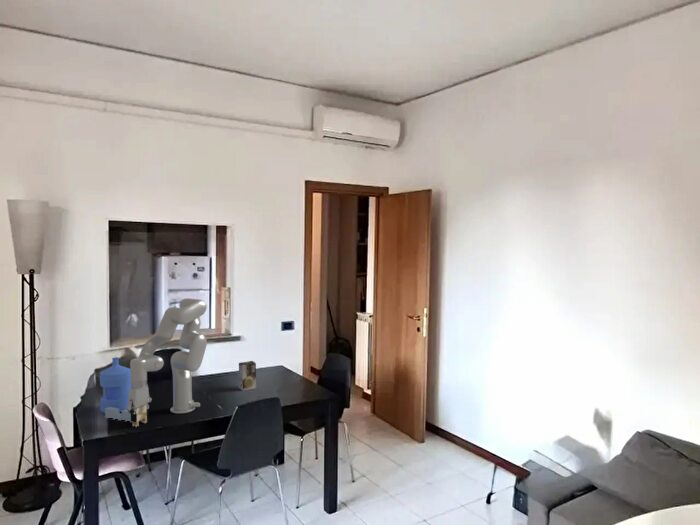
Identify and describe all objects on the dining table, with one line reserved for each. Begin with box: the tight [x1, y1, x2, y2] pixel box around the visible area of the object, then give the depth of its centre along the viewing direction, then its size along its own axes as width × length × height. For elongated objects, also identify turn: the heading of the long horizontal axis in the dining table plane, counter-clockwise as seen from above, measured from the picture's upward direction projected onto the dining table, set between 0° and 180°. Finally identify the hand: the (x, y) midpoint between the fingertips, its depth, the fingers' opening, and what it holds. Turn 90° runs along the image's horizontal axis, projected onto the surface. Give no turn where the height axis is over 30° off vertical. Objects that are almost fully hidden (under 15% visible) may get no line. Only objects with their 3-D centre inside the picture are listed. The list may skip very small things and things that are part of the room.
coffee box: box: [238, 360, 257, 392], centre depth 311 cm, size 9×6×16 cm
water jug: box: [99, 357, 131, 414], centre depth 273 cm, size 16×16×28 cm
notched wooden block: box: [131, 405, 148, 428], centre depth 251 cm, size 7×3×9 cm, turn 160°
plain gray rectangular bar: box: [104, 407, 132, 423], centre depth 258 cm, size 18×3×5 cm, turn 69°
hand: (139, 418), depth 251 cm, fingers closed on notched wooden block, 7 cm apart
